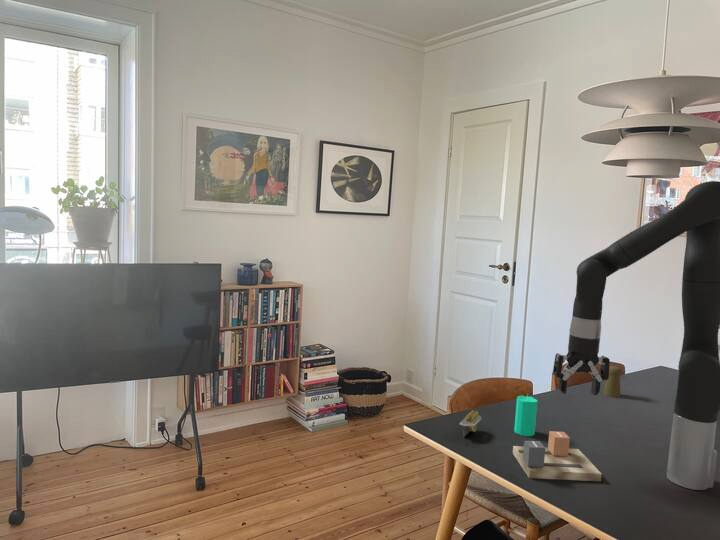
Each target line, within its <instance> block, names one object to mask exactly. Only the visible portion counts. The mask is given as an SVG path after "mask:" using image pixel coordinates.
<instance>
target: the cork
mask: <svg viewBox="0 0 720 540" xmlns="http://www.w3.org/2000/svg"><path fill="white" fill-rule="evenodd" d="M622 372H623V370H622V368H621V367H619V366H617V365H609V379H608V380H605V381H606V382H605V384H604V387H603V388H604V389H603V395H604V396H605V397H609V398H621V376H622Z"/></svg>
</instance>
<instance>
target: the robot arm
mask: <svg viewBox="0 0 720 540" xmlns="http://www.w3.org/2000/svg"><path fill="white" fill-rule="evenodd" d="M684 233H686V239H685V241H686V242H685V249H684V258H683V268H682V269H683V270H682V281H681V308H682V309H681V310H682V312H681V313H682V319H683V340H682V345H681V350H680V351H681V352H680V358H679V360H678V365H677V367H678V377H677V378H678V380H677V387H676V397H675V399H674V407H673V416H672V424H671V432H670V433H671V435H670V443H669V449H668V457H667V458H668V460H667V467H666V478H667V479H668V480H669V481H671V482H672V483H673V484H675V485H678V486H680V487H681V488H686V489H689V490H693V491H694V490H696V491H705V490H707V489H713V488H714V481H715V474H716V466H717V457H718V451H717V450H716V449H715V441H716V433H717V423H718V416H719V413H720V355H719V354H720V353H719V330H720V181H718V180H717V181H716V180H710V181H704V182H702V183H699V184H697V185H695V186H692V188H690V190H689V191H687V193H686V195H685V198H684V200H682V201H681V202H680V203H679V204H678V205H676V206H675V207H674V208H673V207H672V208H671V209H670V210H669V211H667V212H666V213H664V214H662V215H661V216H658V217H657V218H655V219H653V220H651V221H649V222H647V223H645V224H643V225H642V226H640V227H637V228H635V229H634V230H632V231H631V232H629V233H627V234H626V235H624V236H621V238H619V239H617V240H616V241H614V242H613V243H612V244H610V245H609V246H607V247H606V248H605V249H602V250H600V251H598V252H596V253H594V254H592V255H590V256H589V257H588V258H585V259H584V260H581V262H580V263H579V264H578V266H577V268H576V291H575V298H574V300H573V307H572V316H571V320H570V326H569V336H568V345H567V346H568V347H567V354H566V355H565V354H560V353H555V356H554V362H553V368H552V374H553V376H555V377H556V378H557V379H558V390H559V391H560V393H561V394H563V395H565V394H567V387H568V379H569V377H570V376H572V375H573V374H575V372H576V373H587V374H590V375H591V377H592V378H593V379H592V380H591V387H590V389H591V390H590V393H591V394H592V395H594V396H598V394H600V391H601V390H600V388H601V382H602V381H604V380H605V381H606V380H608V379H609V366H610V363H611V362H610V361H611V360H610V358H609V357H607V356H605V355H601V356H599V355H598V354H599V352H600V344H601V343H600V342H601V333H602V316H603V315H602V313H603V298H604V294H605V290H606V284H607V278H608V277H609V276H611V275H613V274H614V273H616V272H618V271H619V270H622V269H626V268H628V267H630V266H631V265H635V264H636V263H637V262H638V261H640V260H642V259H643V258H645V257H647V256H648V255H650V254H651V253H653V252H655V251H656V250H658V249H660V248H661V247H662V246H664V245H666V244H668V242H671V241H672V240H674V239H676V238H677V237H678V236H681V235H683V234H684ZM565 362H567V364H565ZM598 363H599V365H600V367H599V371H598V369H597V368H596V366H597V364H598ZM563 364H565V366H564V367H563Z"/></svg>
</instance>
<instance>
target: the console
mask: <svg viewBox="0 0 720 540" xmlns="http://www.w3.org/2000/svg"><path fill="white" fill-rule="evenodd" d="M544 447H545V446H544ZM523 453H524V445H523V446H522V445H521V446H519V445H513V446H512V454H513V456H514V457H515V459H516V460H517V462H518V464H519V465H520V466H521V468H522V469H523V472H525V474H526V475H527V478H529V479H539V480H540V479H542V480H562V481H563V480H567V481H582V482H584V481H585V482H589V481H590V482H601V481H602V472H601V471H599V469H598V468H597V467H596V466H595V465H594V464H593V463H592V462H591V460H590V459H589V458H587V456H586V455H585V454H583V452H582V451H581V450H580V449H579V448H569V453H568V456H554V455H552V453H551V452H550V451H549V450H548V447H545V458H544V467H530V466H527V464H526V463H525V461H524V460H523Z"/></svg>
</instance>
